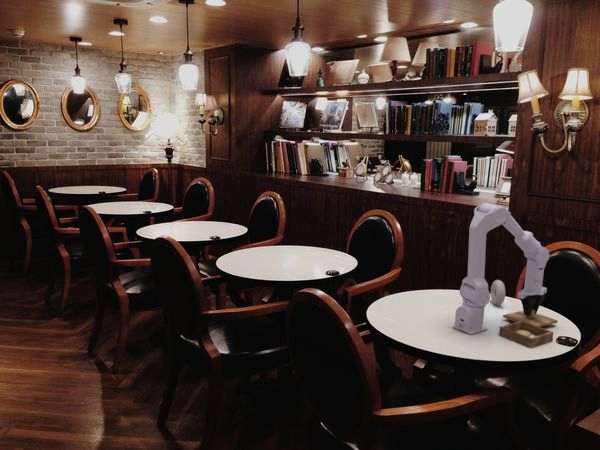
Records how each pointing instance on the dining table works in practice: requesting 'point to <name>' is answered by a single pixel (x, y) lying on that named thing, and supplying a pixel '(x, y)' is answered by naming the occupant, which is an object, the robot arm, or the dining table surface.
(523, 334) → the biscuit
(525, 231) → the robot arm
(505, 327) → the box
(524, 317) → the lid
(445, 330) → the dining table surface
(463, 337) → the dining table surface
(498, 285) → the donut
